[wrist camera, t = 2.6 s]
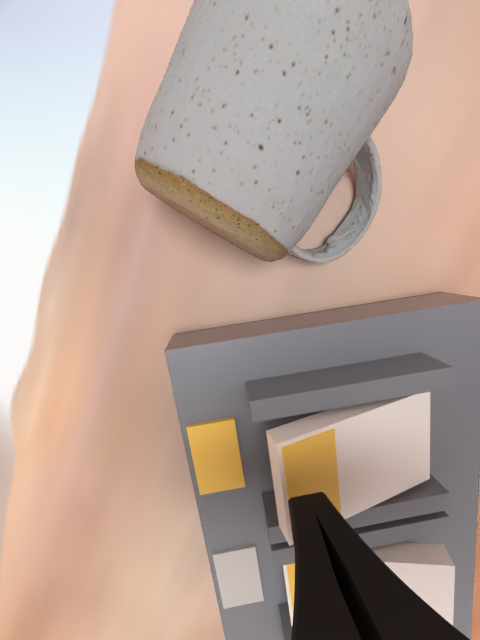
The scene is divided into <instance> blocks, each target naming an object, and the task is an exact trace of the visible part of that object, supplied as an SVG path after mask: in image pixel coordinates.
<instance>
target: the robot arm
mask: <svg viewBox="0 0 480 640" xmlns="http://www.w3.org/2000/svg"><path fill="white" fill-rule="evenodd" d="M288 506H289V513H290V521H291V529H292V537H293V543H294V547H295V590H294V610H293V624H292V636H291V640H470V639H469V638H468V637H466V636H465V635H464V634H463V633H461V632H460V631H459V630H458V629H456V628H455V627H454V626H453V625H451V624H450V623H449V622H448V621H447V620H445V619H444V618H443V617H442V616H441V615H440V614H438V613H437V612H436V611H435V610H434V609H433V608H432V607H430V606H429V605H428V604H427V603H426V602H425V601H424V600H423V599H421V598H420V597H419V596H418V595H417V594H416V593H415V592H414V591H413V590H412V589H411V588H409V587H408V586H407V585H406V584H405V583H404V582H403V581H402V580H401V579H400V578H399V577H398V576H397V575H396V574H395V573H394V572H393V571H392V570H391V569H390V568H389V567H388V566H387V565H386V564H385V563H384V562H383V561H382V560H381V559H380V558H379V557H378V556H377V555H376V554H375V553H374V552H373V550H372V549H371V548H370V547H369V546H368V545H367V544H366V543H365V542H364V541H363V539H362V538H361V537H360V536H359V535H358V534H357V533H356V532H355V531H354V529H353V528H352V527H351V526H350V525H349V524H348V522H347V521H346V520H345V519H344V518H343V516H342V515H341V514H340V513H339V511H338V510H337V509H336V508H335V506H334V505H333V504H332V502H331V501H330V500H329V498H328V497H327V496H326V494H325V493H323V492H318V493H312V494H307V495H302V496H297V497H291V498H290V499H289V500H288Z"/></svg>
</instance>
